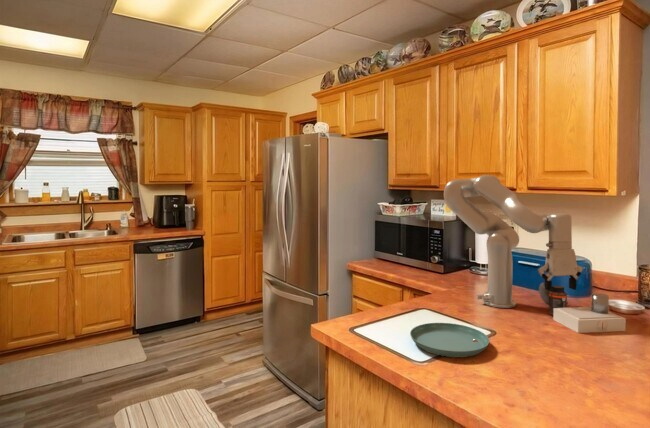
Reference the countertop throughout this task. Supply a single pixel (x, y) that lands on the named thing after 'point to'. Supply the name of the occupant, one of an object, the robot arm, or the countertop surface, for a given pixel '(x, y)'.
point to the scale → (588, 320)
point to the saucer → (449, 339)
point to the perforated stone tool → (544, 292)
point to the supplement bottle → (557, 298)
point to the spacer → (600, 303)
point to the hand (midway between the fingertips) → (560, 289)
